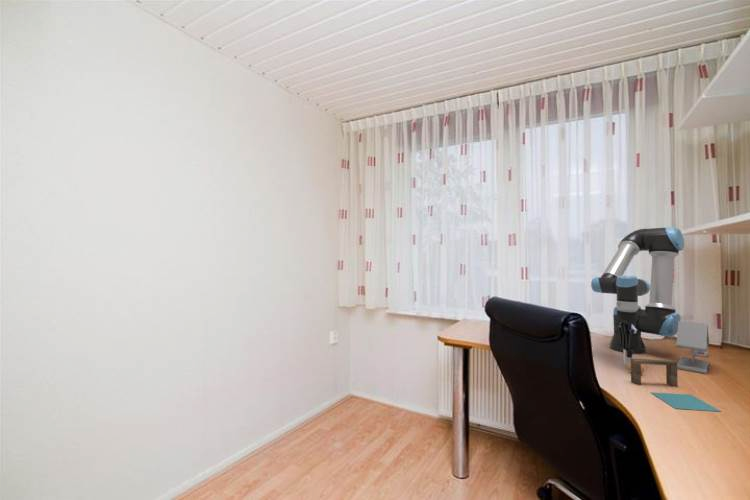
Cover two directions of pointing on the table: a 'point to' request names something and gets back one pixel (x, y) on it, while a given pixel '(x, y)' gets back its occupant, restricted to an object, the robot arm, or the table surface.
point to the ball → (641, 367)
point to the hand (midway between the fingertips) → (627, 364)
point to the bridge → (670, 364)
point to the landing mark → (684, 402)
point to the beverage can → (701, 352)
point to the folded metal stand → (692, 345)
